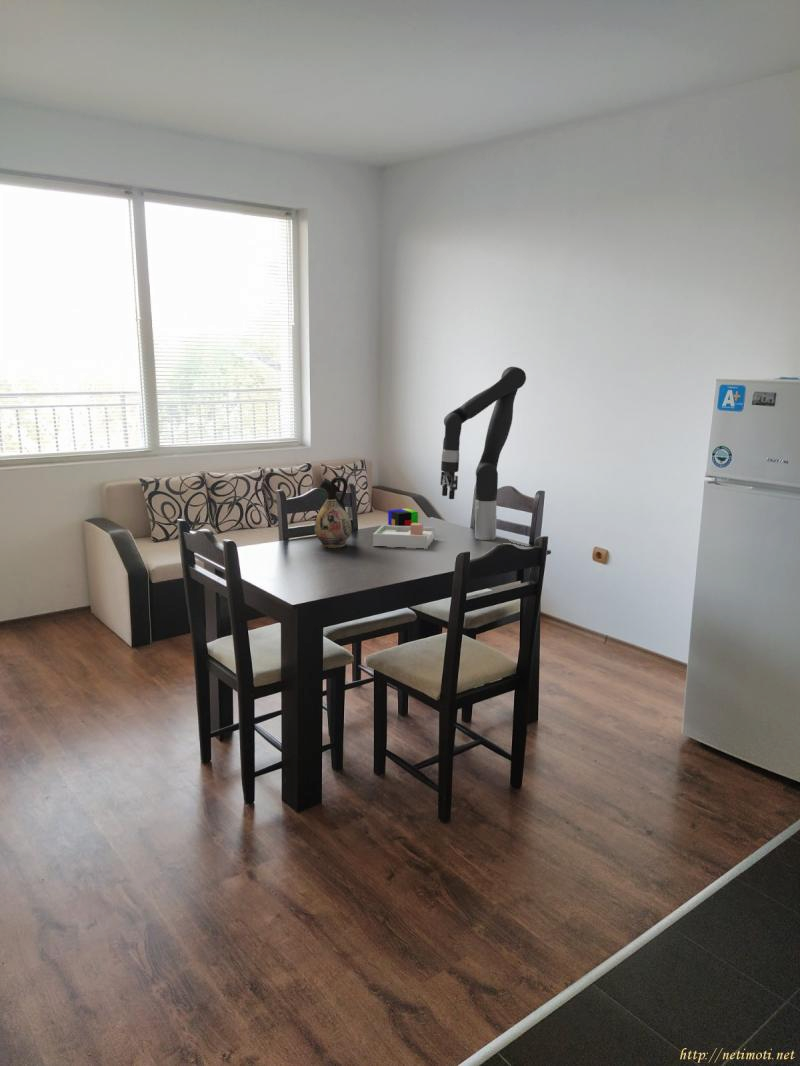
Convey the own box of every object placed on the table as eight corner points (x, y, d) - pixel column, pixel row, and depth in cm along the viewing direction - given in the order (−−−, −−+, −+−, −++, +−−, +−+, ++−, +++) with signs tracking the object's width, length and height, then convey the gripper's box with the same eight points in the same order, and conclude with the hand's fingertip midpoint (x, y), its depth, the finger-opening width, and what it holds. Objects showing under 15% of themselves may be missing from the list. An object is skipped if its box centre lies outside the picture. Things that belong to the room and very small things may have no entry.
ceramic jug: (313, 550, 316) (312, 478, 310) (316, 541, 331) (314, 473, 325) (355, 550, 317) (354, 478, 310) (355, 541, 332) (354, 473, 325)
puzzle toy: (388, 531, 352) (388, 510, 350) (407, 529, 357) (407, 508, 355) (398, 535, 344) (398, 513, 342) (417, 533, 348) (417, 511, 346)
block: (422, 533, 329) (422, 523, 328) (420, 535, 325) (420, 525, 324) (412, 533, 330) (412, 522, 329) (410, 535, 326) (410, 524, 325)
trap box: (433, 539, 336) (433, 527, 335) (426, 548, 318) (427, 536, 317) (382, 537, 340) (382, 525, 339) (373, 546, 323) (373, 533, 322)
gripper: (464, 462, 323) (462, 500, 327) (452, 458, 337) (450, 494, 340) (448, 462, 321) (445, 500, 324) (436, 458, 334) (434, 494, 338)
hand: (447, 497), depth 332 cm, fingers open, 8 cm apart
